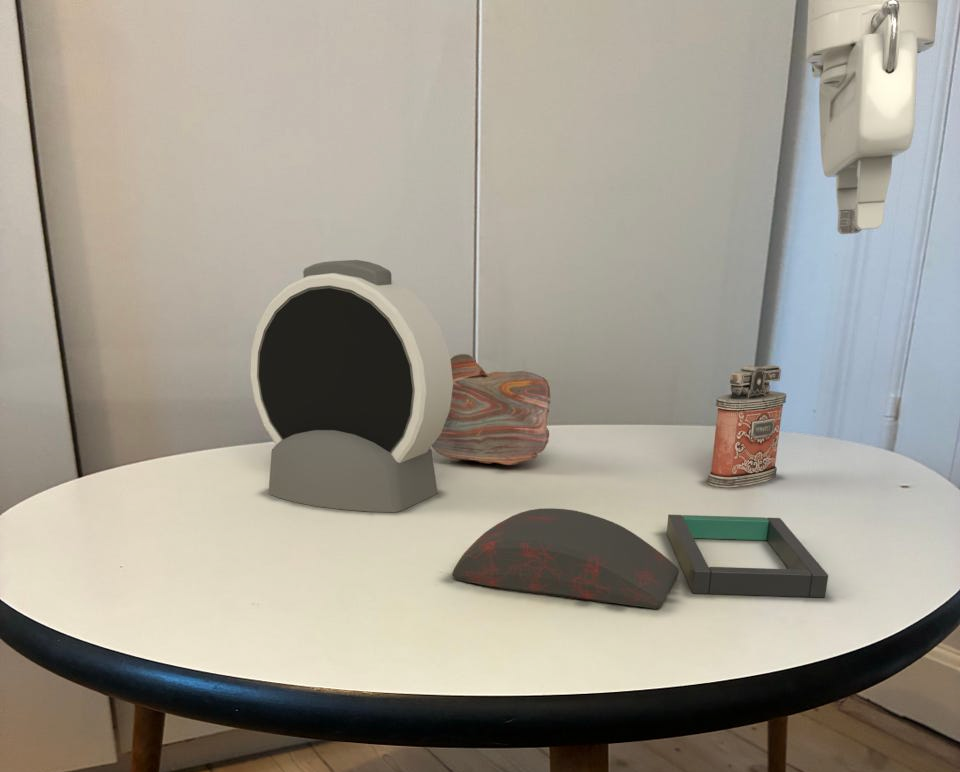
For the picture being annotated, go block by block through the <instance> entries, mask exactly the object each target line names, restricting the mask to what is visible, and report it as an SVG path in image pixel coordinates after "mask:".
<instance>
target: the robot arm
mask: <svg viewBox="0 0 960 772" xmlns="http://www.w3.org/2000/svg"><path fill="white" fill-rule="evenodd" d="M807 2H808V4H807V26H806V27H807V28H806V49H805V51H806V53H805V59H806V61H807V62H808V63H809V64H811V75H812V77H813V78H815V79H816V78H817V79H818V78H819V82H818V83H819V84H818V86H819V87H818V90H819V91H818V93H819V95H818V104H819V105H818V106H819V135H820V138H819V139H820V155H821V165H822V170H823V175H824V176H825V177H826V178H836V179H835V195H836V206H837V207H836V208H837V227H836V229H837V230H836V231H837V232H838V234H840V235H853V234H855V235H856V234H858V233H860V232H861V231H863V230H865V231H866V230H875V229H879V228H880V227H881V226H882V225H883V223H884V214H885V201H886V198H887V193H888V189H889V185H890V180H891V176H892V167H893V158H896V157H897V156H899V155H901V154H903V153H904V152H906V151H908V150H909V149H910V147H911V144H912V141H913V138H914V137H913V136H914V131H915V125H916V122H915V121H916V103H917V102H916V101H917V80H918V79H917V77H918V76H917V75H918V54H920V53H922V52H925V51H928V50H929V49H931V48H932V47H933V46H934V45H935V41H936V29H937V16H938V4H939V3H938V2H939V0H808V1H807Z"/></svg>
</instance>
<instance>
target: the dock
mask: <svg viewBox="0 0 960 772" xmlns="http://www.w3.org/2000/svg"><path fill="white" fill-rule="evenodd" d="M666 535H667V538H668V540H669V543H670V544H671V546H672V550H673V551H674V553H675V556H676V558H677V561H678V563H679V565H680V568H681V569H682V572H683V574H684V576H685V579H686V582H687V584H688V586H689V588H690V590H691V593H692V594H699V595H700V594H702V595H708V594H709V595H735V596H761V597H762V596H763V597H764V596H766V597H793V598H794V597H795V598H826V594H827V587H828V580H829V574H828V573H827V571H826V570H824V568H823V567H822V565H820V563H819V562H818V561H817V559H815V557H813V555H812V554H811V553H810V551H809V550H808V549H807V548H806V547H805V546H804V544H803V543H802V542H801V541H800V540H799V538H798V537H797V536H796V535H795V533H793V531H791V529H790V528H789V527H788V526H787V524H786V523H785V522H784V520H783V519H782V518H781V517H761V516H760V517H758V516H730V515H729V516H728V515H726V516H725V515H697V514H696V515H695V514H690V515H689V514H683V515H682V514H668V515H667V524H666ZM695 539H702V540H703V539H709V540H735V541H737V540H739V541H741V540H743V541H767V542H768V544H769V545H770V547H772V549H773V550H774V551H775V553H776V555H777V556H778V557H779V559H780V560H781V561H782V562H783V564H784V565H785V566H786V568H768V567H767V568H765V567H764V568H762V567H736V566H735V567H734V566H733V567H732V566H731V567H730V566H709V564H708V563H707V561H706V559H705V557H704V556H703V554H702V552H701V549H700V547H699V546H698V543H697V541H696V540H695Z"/></svg>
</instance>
